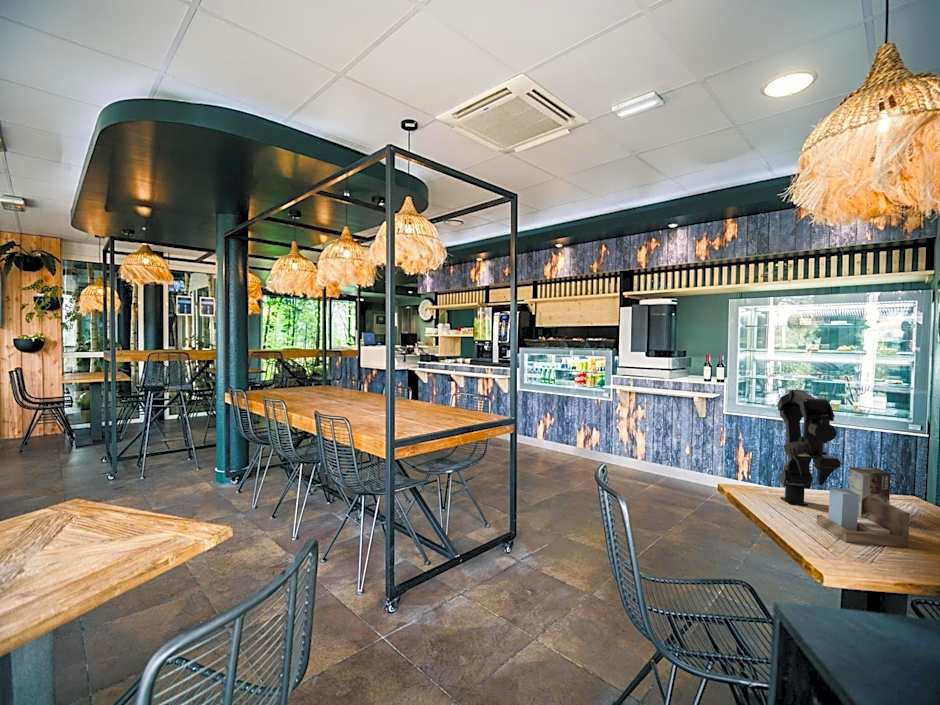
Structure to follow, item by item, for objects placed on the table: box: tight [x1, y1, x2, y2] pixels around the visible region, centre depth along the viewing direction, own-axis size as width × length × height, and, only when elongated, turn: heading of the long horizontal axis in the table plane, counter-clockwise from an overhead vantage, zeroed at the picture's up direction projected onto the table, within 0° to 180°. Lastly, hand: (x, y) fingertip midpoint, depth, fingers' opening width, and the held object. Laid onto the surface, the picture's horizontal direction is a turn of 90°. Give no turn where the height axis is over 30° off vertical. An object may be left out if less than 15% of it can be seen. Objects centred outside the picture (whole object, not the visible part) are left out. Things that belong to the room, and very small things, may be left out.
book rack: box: [815, 497, 911, 548], centre depth 140 cm, size 14×17×10 cm
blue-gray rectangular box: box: [827, 487, 859, 531], centre depth 142 cm, size 6×4×12 cm
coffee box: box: [848, 466, 891, 519], centre depth 157 cm, size 9×6×16 cm
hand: (811, 480), depth 152 cm, fingers open, 9 cm apart
